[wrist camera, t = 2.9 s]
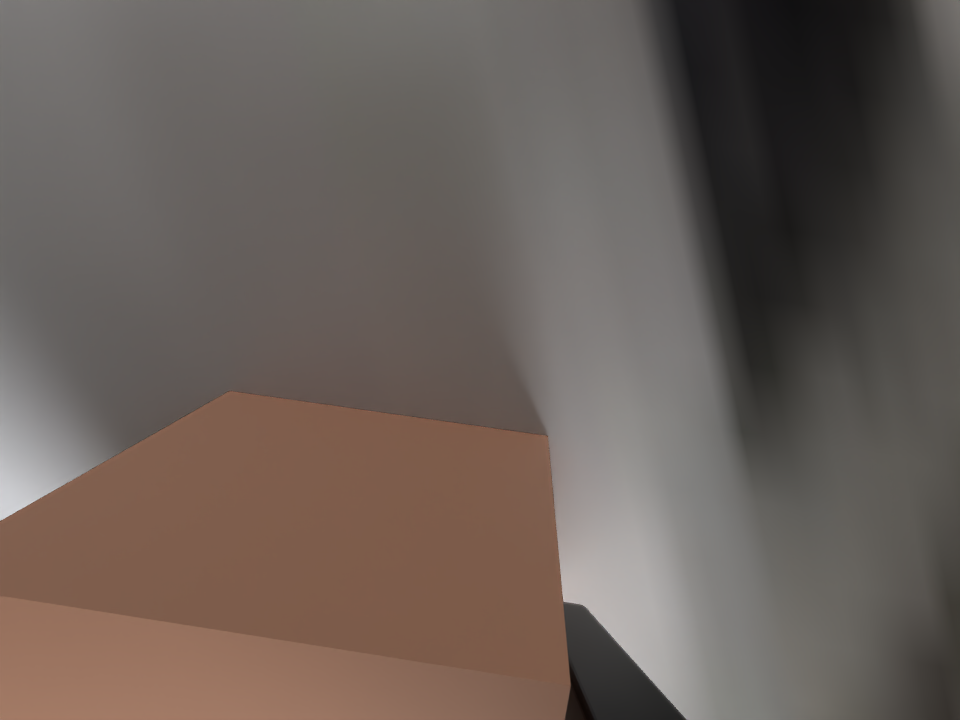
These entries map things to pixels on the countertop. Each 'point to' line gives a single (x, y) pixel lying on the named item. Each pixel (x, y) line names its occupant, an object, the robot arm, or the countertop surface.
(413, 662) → the terracotta block
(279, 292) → the countertop surface
